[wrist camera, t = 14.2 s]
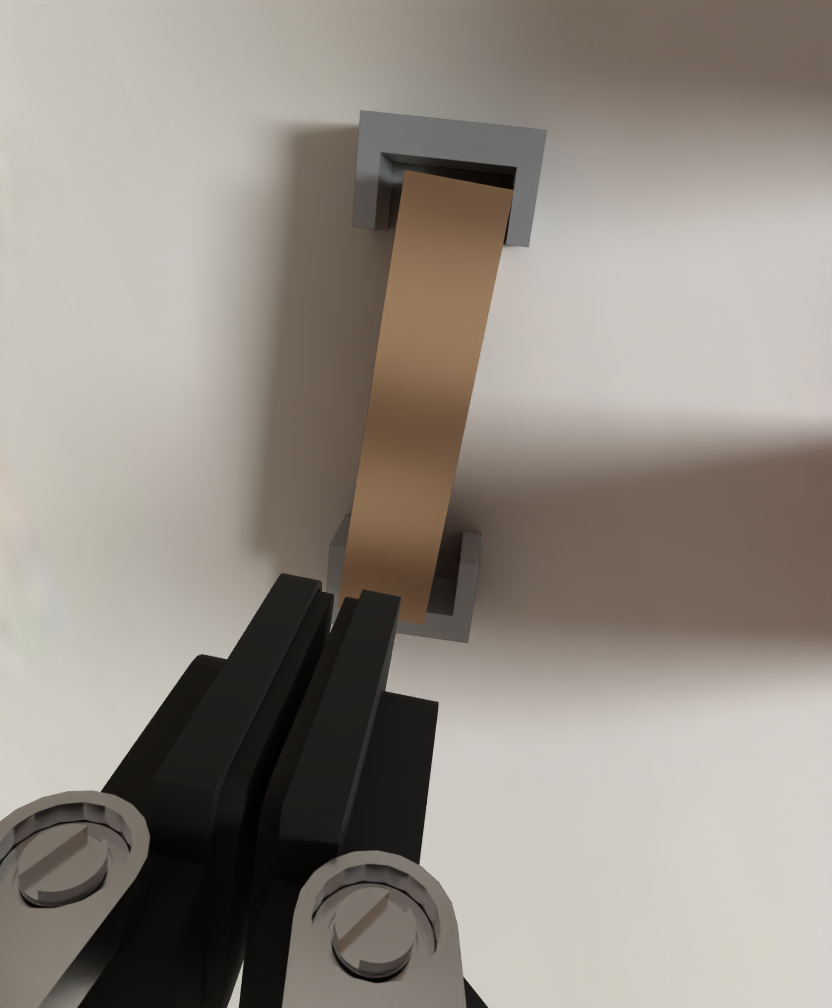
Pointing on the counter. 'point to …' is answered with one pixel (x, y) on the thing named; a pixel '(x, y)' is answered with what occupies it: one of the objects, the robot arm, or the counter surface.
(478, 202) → the brown rectangular block
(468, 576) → the end cap
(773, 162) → the counter surface
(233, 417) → the counter surface
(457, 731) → the counter surface
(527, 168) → the end cap
